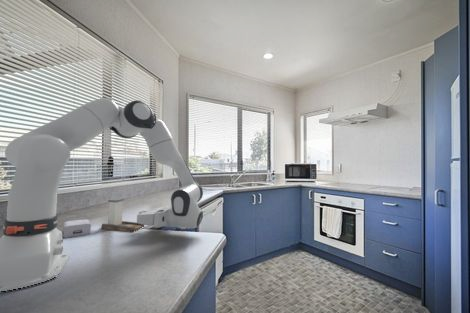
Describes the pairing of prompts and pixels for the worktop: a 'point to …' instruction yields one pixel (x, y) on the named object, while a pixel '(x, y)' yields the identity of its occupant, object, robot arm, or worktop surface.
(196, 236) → the worktop surface
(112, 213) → the white upright block
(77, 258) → the worktop surface
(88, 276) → the worktop surface
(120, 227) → the track
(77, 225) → the charger
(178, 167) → the robot arm
